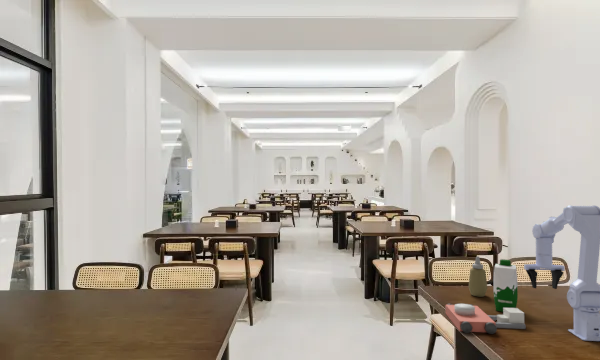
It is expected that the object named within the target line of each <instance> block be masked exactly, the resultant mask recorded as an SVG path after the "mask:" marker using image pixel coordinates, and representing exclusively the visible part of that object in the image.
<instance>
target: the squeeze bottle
mask: <svg viewBox="0 0 600 360" xmlns="http://www.w3.org/2000/svg"><path fill="white" fill-rule="evenodd" d="M481 263H482V262H481V259H480V256H478V255H477V256H476V257H475V260H474V263H472V268H471V269H470V271H469V277H468V289H469V292H470V294H471V296H473V297H478V298H479V297H480V298H481V297H485V296H486V293H487V290H488V283H487V282H488V281H487V275H486V274H487V272H486V269H484V264H483V263H482V264H481Z"/></svg>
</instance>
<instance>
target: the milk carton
mask: <svg viewBox="0 0 600 360" xmlns="http://www.w3.org/2000/svg"><path fill="white" fill-rule="evenodd" d="M511 263H512V262H511V259H502V258H501V259H500V260H499V263H495V265H494V268H493V300H494V307H495V312H502V313H503V308H517V305H518V295H519V294H518V293H519V292H518V271H517V269H518V268H517V267H516V265H515V264H514V265H513V264H511Z"/></svg>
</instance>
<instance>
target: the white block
mask: <svg viewBox="0 0 600 360" xmlns="http://www.w3.org/2000/svg"><path fill="white" fill-rule="evenodd" d="M496 316H497V321H496V322H498V323H524V324H525V312H523V311H522V310H521V309H519V308H518V307H516V308H503V312H502V314H496Z"/></svg>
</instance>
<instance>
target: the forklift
mask: <svg viewBox="0 0 600 360" xmlns="http://www.w3.org/2000/svg"><path fill="white" fill-rule="evenodd" d="M444 310H445V315H446V316H447V317H448V319H449V320H450V321H451V322H452V324H453V325H454V326H455V327H456V329H457V330H458V331H459V332H463V333H465V334H469V333H487V334H489V335H494V334H496V333H497V331H498V330H497V329H517V330H519V329H521V330H526V327H527V325H526V324H525V322H524V323H498V322H497V321H496V320H497V315H491V314H490V315H489V314H487V313H485V311H484V310H482V309H481V308H480V307H479V306H478V305H474V304H472V303H470V304H469V303H455V304H452V303H447V304H445V307H444ZM495 321H496V322H495Z"/></svg>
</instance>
